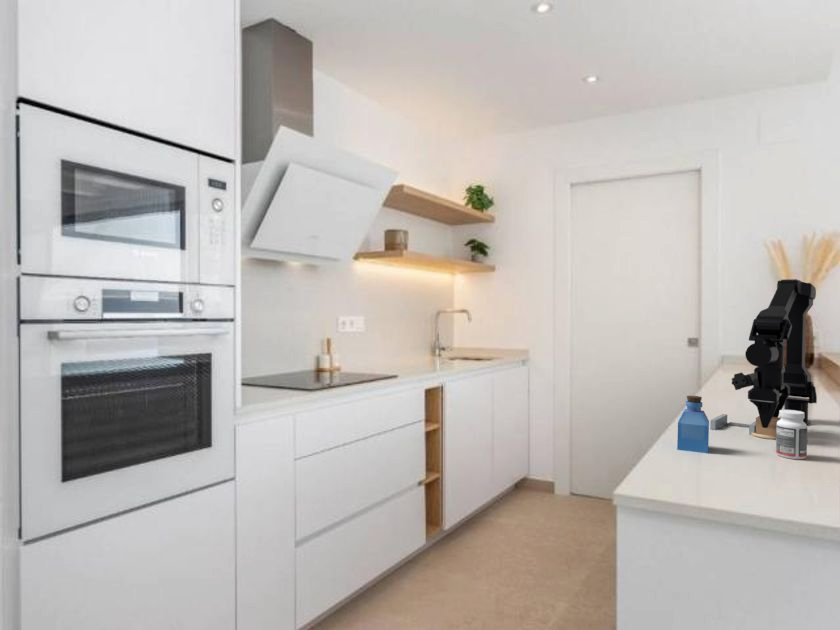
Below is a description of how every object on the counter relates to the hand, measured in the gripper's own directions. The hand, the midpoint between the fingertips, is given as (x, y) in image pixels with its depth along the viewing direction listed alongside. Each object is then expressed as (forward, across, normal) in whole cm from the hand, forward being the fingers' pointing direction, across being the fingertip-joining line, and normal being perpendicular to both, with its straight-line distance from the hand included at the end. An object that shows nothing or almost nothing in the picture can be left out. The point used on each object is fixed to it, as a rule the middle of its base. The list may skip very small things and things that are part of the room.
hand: (768, 425), depth 148 cm
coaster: (+3, 0, 0) cm, 3 cm away
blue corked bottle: (+3, +28, -10) cm, 30 cm away
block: (+2, 0, 0) cm, 2 cm away
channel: (+3, -4, -8) cm, 9 cm away
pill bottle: (+3, +20, +8) cm, 22 cm away
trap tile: (+3, -10, -8) cm, 13 cm away
